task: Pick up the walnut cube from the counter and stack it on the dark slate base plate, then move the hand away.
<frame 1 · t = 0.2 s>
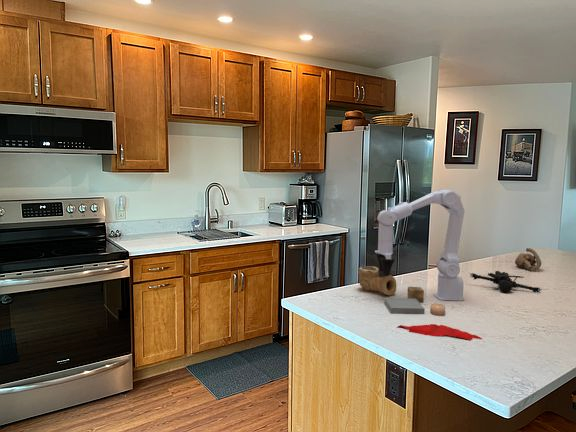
hand: (384, 273, 174), 10 cm above the worktop, tool pointing down, fingers open, 7 cm apart
walnut cube: (415, 300, 170), on the worktop
slate base: (403, 308, 160), on the worktop
tan lumpy piece: (526, 269, 229), on the worktop
terracotta puck: (437, 313, 155), on the worktop
pipe: (375, 292, 181), on the worktop
toy: (503, 286, 195), on the worktop
cloth: (439, 334, 137), on the worktop
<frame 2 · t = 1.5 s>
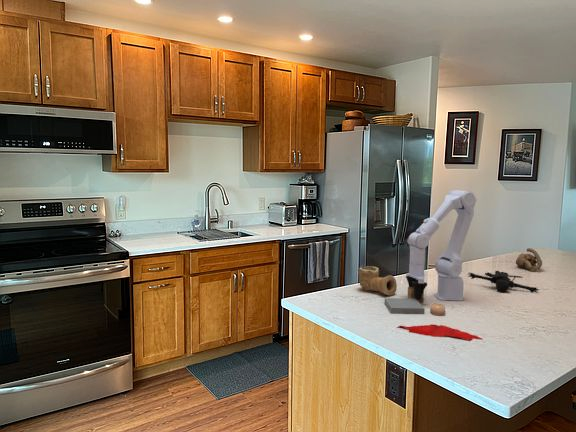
hand: (415, 296, 170), 2 cm above the worktop, tool pointing down, fingers open, 7 cm apart
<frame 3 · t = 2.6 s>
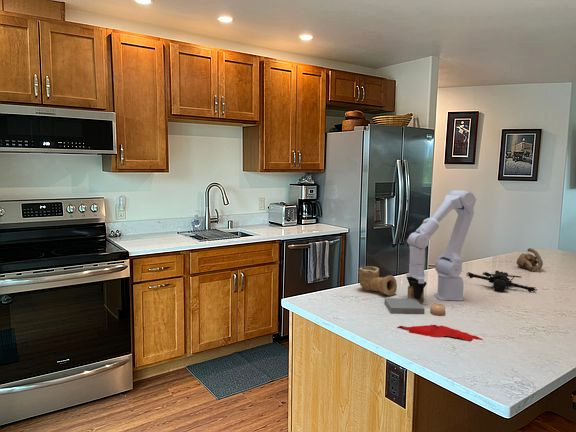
hand: (415, 296, 170), 2 cm above the worktop, tool pointing down, fingers closed on walnut cube, 5 cm apart
walnut cube: (415, 300, 170), on the worktop, touching gripper
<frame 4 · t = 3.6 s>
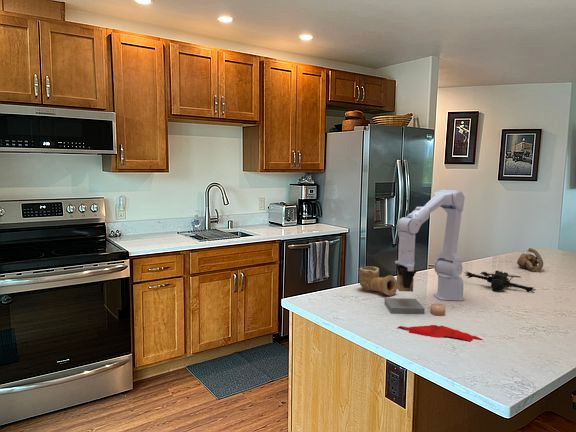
hand: (405, 285, 160), 9 cm above the worktop, tool pointing down, fingers closed on walnut cube, 5 cm apart
walnut cube: (404, 289, 160), point 7 cm above the worktop, touching gripper
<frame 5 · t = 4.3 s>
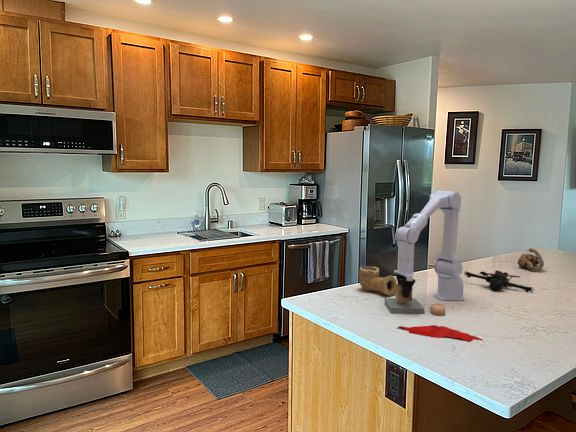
hand: (404, 295, 160), 5 cm above the worktop, tool pointing down, fingers closed on walnut cube, 5 cm apart
walnut cube: (403, 298, 160), point 4 cm above the worktop, touching gripper
when the fingers open (5 cm above the worktop, at t = 4.8 s): walnut cube drops 1 cm, resting on slate base.
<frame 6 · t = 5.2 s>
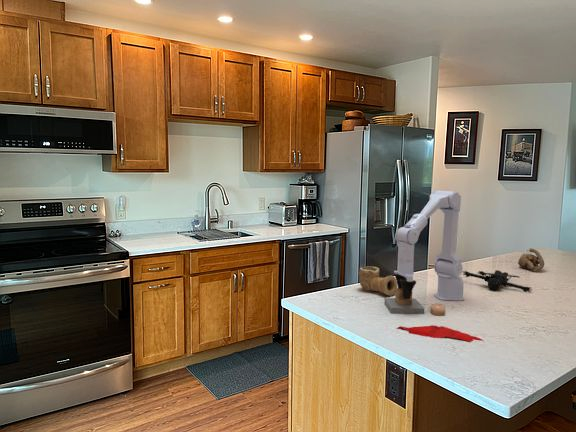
hand: (404, 295, 160), 5 cm above the worktop, tool pointing down, fingers open, 7 cm apart
walnut cube: (403, 303, 160), point 2 cm above the worktop, touching slate base
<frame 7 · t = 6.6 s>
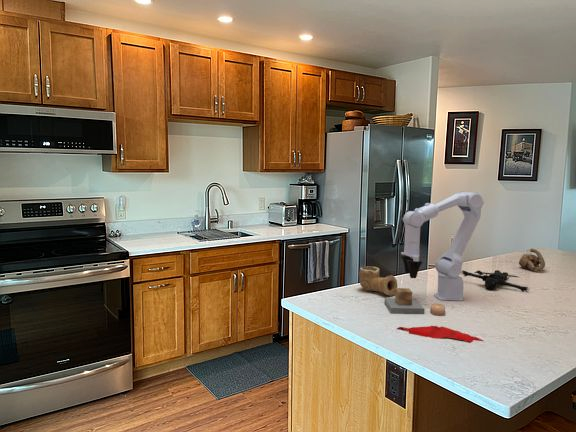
hand: (410, 275, 170), 10 cm above the worktop, tool pointing down, fingers open, 7 cm apart
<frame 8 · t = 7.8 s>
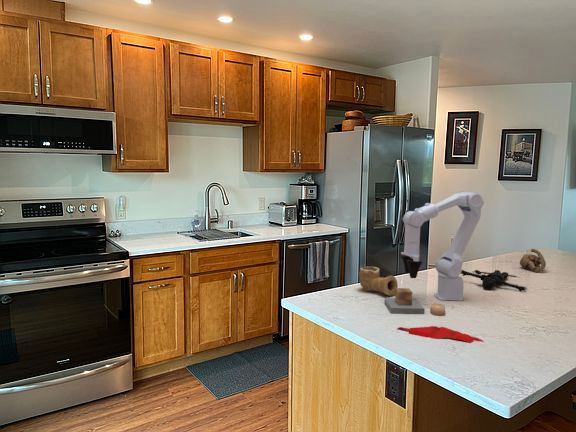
hand: (410, 275, 170), 10 cm above the worktop, tool pointing down, fingers open, 7 cm apart
at the end: walnut cube inside the target area on the slate base (0.2 cm from its centre), point 2.0 cm above the slate base's base; walnut cube tilted 0°; the gripper is holding nothing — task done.
